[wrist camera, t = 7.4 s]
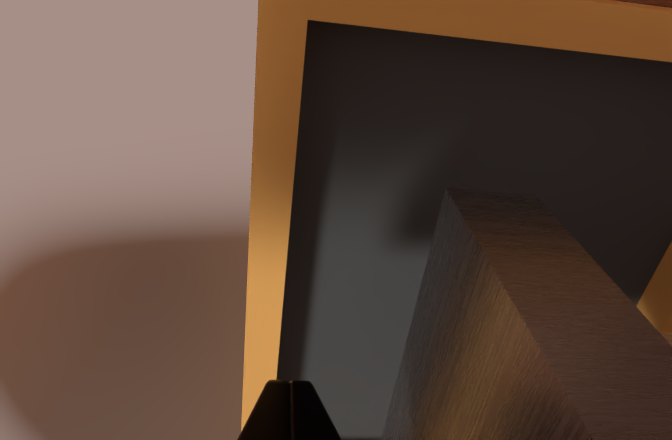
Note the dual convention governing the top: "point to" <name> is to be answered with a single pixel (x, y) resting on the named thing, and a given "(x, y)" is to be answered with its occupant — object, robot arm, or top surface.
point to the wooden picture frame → (439, 166)
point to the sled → (525, 336)
